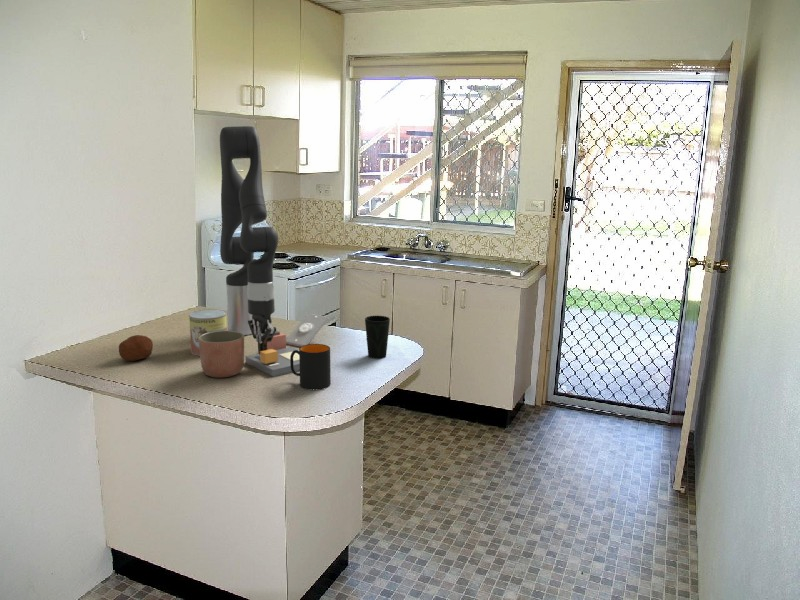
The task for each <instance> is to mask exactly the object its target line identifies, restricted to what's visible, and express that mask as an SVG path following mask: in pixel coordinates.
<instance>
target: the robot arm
mask: <svg viewBox="0 0 800 600" xmlns="http://www.w3.org/2000/svg"><path fill="white" fill-rule="evenodd" d="M260 143H261V142H260V137H259V133H258V131H257V129H256V127H253V126H249V125H247V126H246V125H245V126H243V125H242V126H241V125H240V126H224V127H222V128H221V129H220V134H219V151H220V152H219V154H220V163H221V164H220V166H221V187H220V188H221V190H220V191H221V192H220V209H221V212H220V213H221V232H220V245H219V253H220V254H219V255H220V259H221V261H222V263H224V264H225V265H243V266H242V267H241V268H239V269H238V270H236V271H234V272H232V273H229V274H227V275H226V278H225V282H226V284H225V285H226V313H227V314H226V317H227V331H236V332H240V333H242V334H243V335H244V336H249V335H252V337H253V339H254V340H255V341H256V343H257V354H259V355H260V351H265V350H267V342H271V341H272V339H273V336H274V334H275V332H276V331H277V327H276V326H273V325H272V323H273V321H272V317H271V316H272V314H274V313H275V310H276V309H275V286H274V274H273V271H274V269H273V267H274V260H275V256H276V253H277V248H278V244H279V235H278V232H277V231H276V229H275V228H273V226H272V227H271V226H260V227H259V226H255V227H253V225H258V224H260V223H262V222H264V221H266V219H267V217H268V213H267V206H266V202H265V195H264V189H263V173H262V171H263V170H262V157H261V144H260ZM235 159H249V168H248V171H247V174H246V175H245V177H244V178H243V177H242V176H241V175H240V173H239V172H238V170H237V169H236V166H235V165H234V162H233V160H235ZM240 225H241V231H240V236H234V234H235V232H236V230H237V229H238V228H239V227H240ZM255 253H263V254H262V256H261V257H259V258H257V259H254V258H255V257H254V256H255V255H254V254H255Z"/></svg>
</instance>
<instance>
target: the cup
mask: <svg viewBox="0 0 800 600" xmlns="http://www.w3.org/2000/svg"><path fill="white" fill-rule="evenodd" d="M390 321H391V318H390V317H388V316H385V315H370V316H366V317H365V318H364V325H365V333H366V345H367V346H366V347H367V355H368V358H370V359H375V360H378V359H379V360H380V359H385V358H387V351H388V341H389V332H390V331H389V330H390V323H391V322H390Z"/></svg>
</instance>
